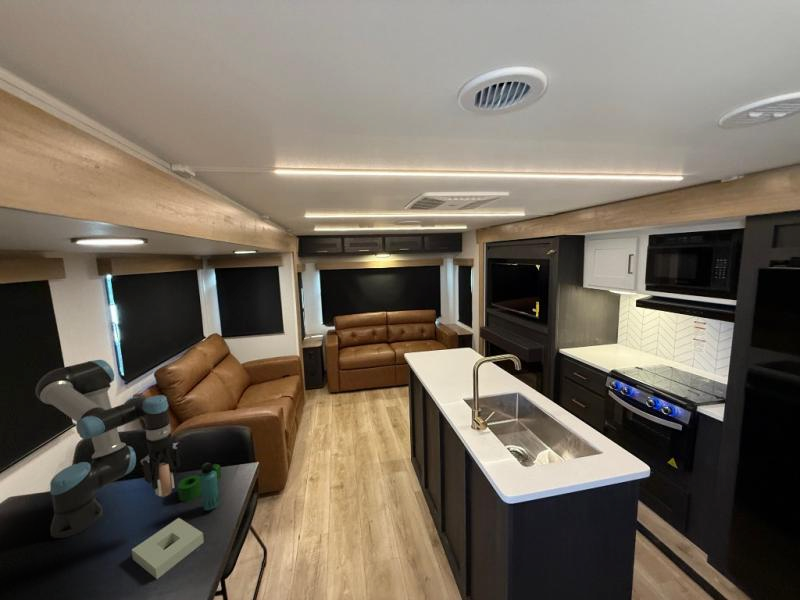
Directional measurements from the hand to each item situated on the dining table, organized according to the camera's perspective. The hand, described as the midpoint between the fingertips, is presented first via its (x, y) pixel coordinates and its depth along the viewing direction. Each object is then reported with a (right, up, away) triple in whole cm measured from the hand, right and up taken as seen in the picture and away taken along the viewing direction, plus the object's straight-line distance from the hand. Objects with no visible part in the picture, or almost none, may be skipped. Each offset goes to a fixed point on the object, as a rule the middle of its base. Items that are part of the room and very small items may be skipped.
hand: (165, 490), depth 127 cm
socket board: (+7, -18, -8) cm, 21 cm away
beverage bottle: (+11, -15, +13) cm, 23 cm away
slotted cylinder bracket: (-3, -14, +26) cm, 29 cm away
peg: (0, -1, 0) cm, 1 cm away
